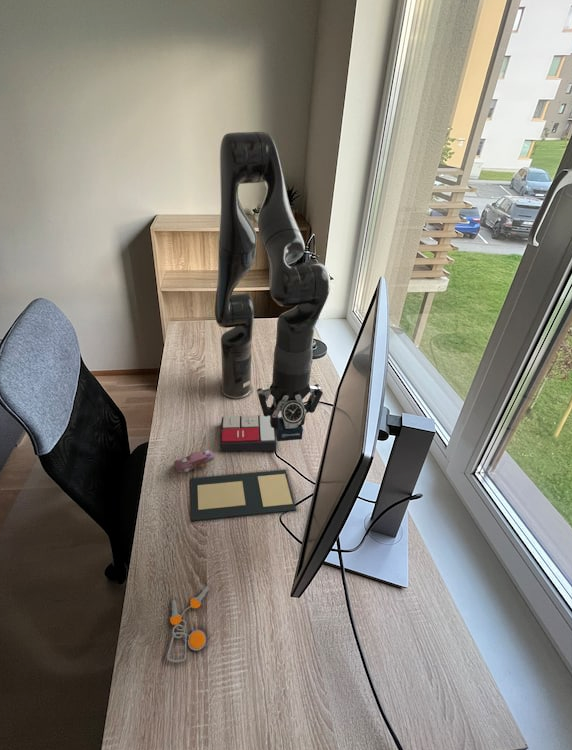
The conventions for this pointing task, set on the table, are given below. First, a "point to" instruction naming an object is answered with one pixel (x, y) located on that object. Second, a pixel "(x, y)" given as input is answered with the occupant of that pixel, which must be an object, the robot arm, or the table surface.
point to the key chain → (196, 637)
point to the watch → (290, 421)
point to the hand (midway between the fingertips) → (286, 425)
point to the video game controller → (194, 460)
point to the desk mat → (241, 495)
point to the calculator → (247, 433)
